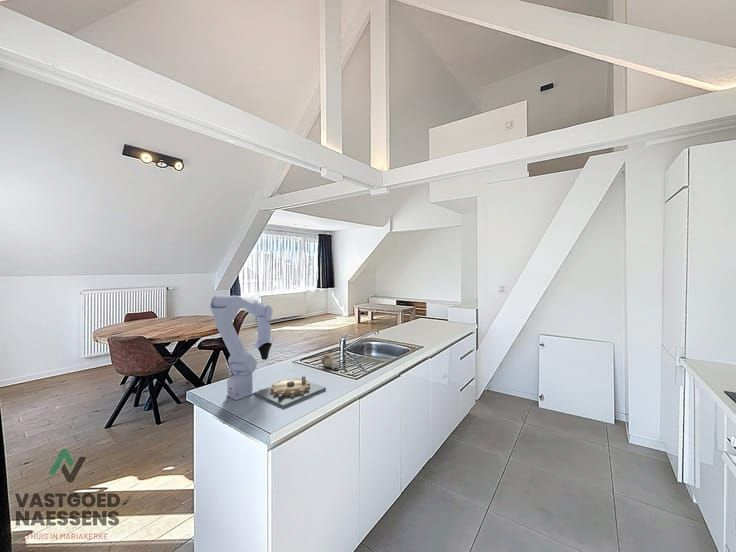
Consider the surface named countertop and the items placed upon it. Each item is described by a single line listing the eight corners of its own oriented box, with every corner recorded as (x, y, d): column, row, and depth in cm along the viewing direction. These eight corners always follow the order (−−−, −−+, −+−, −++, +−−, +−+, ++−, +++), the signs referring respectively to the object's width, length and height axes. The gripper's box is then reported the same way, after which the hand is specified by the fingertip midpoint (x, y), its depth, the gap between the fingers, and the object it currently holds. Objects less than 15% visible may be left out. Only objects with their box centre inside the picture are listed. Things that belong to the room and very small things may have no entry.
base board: (283, 408, 117) (283, 400, 116) (254, 395, 129) (254, 388, 129) (325, 390, 134) (325, 383, 134) (296, 380, 146) (296, 373, 146)
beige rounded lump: (332, 372, 158) (323, 354, 160) (325, 375, 166) (317, 358, 168) (343, 365, 162) (335, 348, 164) (337, 369, 170) (329, 352, 172)
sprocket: (312, 393, 126) (312, 382, 126) (271, 399, 121) (271, 387, 121) (307, 380, 142) (306, 370, 142) (270, 385, 136) (269, 374, 136)
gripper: (264, 334, 137) (265, 364, 137) (278, 327, 151) (279, 355, 152) (249, 333, 138) (250, 363, 139) (265, 327, 153) (266, 354, 153)
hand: (264, 359), depth 145 cm, fingers closed
